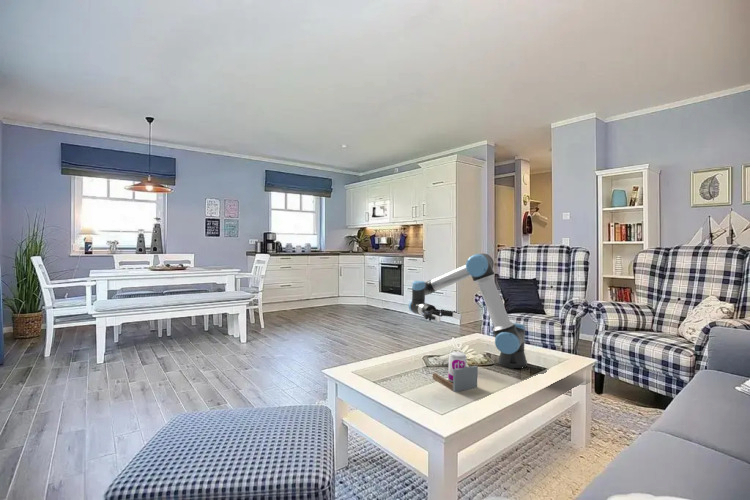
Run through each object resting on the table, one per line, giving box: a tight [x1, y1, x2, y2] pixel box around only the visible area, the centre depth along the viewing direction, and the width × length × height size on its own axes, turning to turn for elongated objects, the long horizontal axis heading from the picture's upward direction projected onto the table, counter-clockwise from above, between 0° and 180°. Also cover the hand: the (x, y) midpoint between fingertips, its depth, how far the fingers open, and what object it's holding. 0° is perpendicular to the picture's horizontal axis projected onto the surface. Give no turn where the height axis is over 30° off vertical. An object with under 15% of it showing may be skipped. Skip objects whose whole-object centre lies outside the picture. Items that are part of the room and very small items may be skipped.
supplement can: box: [447, 350, 468, 383], centre depth 181 cm, size 8×8×15 cm
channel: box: [432, 372, 454, 392], centre depth 184 cm, size 13×16×2 cm
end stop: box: [453, 365, 479, 393], centre depth 176 cm, size 13×2×10 cm, turn 116°
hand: (450, 318), depth 197 cm, fingers open, 13 cm apart
